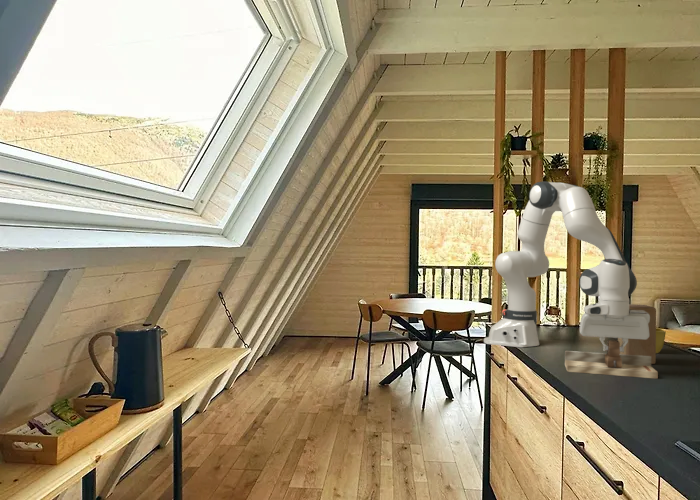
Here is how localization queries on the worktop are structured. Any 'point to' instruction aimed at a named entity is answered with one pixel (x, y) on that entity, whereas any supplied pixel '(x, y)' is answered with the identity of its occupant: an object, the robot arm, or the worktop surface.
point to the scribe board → (596, 365)
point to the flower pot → (659, 339)
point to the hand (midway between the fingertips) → (613, 351)
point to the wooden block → (641, 345)
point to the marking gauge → (613, 354)
